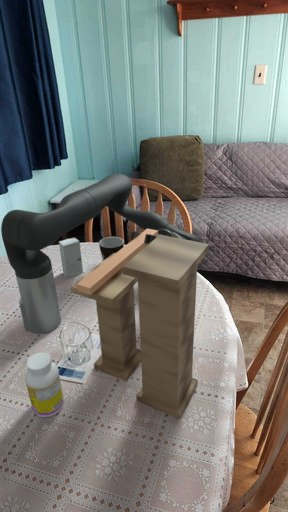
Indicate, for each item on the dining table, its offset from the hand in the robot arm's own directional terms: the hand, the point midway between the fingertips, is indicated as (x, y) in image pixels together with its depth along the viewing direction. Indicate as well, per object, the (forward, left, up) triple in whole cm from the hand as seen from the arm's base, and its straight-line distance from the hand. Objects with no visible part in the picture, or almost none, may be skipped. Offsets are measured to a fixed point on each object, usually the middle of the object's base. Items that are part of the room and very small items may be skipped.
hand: (139, 237), depth 82 cm
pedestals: (0, -14, -29) cm, 32 cm away
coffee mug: (-10, +38, -29) cm, 49 cm away
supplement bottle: (-21, -22, -29) cm, 41 cm away
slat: (-4, -7, -2) cm, 8 cm away
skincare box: (-24, +34, -29) cm, 51 cm away
